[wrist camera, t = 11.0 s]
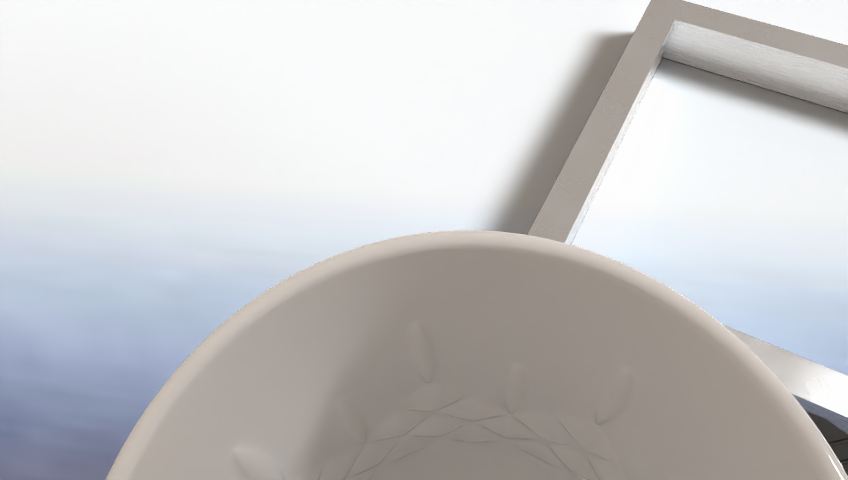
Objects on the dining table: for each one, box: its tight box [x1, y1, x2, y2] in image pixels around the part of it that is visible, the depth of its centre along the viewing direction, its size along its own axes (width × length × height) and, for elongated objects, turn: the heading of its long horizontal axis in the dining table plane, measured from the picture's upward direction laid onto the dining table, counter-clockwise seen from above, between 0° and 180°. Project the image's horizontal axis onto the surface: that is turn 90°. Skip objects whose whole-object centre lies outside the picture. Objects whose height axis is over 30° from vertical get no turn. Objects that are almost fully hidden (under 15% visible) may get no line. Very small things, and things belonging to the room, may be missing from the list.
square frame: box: [527, 0, 848, 434], centre depth 23 cm, size 14×14×2 cm
